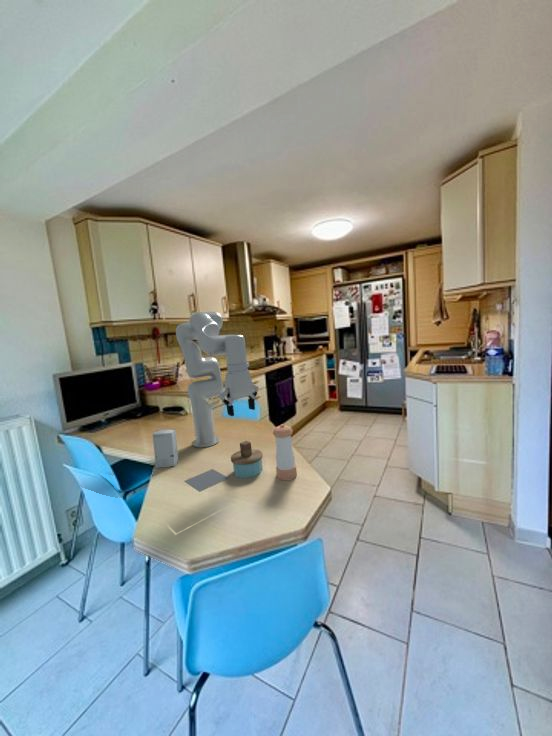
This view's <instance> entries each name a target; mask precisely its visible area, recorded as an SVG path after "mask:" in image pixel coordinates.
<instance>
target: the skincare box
mask: <svg viewBox="0 0 552 736" xmlns="http://www.w3.org/2000/svg"><path fill="white" fill-rule="evenodd" d="M152 442H153V443H152V444H153V451H154V452H153V453H154V461H155V469H159V468H158V467H163V468H169V467H168V466H174V467H176V465H177V464H178V463H179V452H178V441H177V431H176V429H175V428H174V429H173V428H172V429H170V428H169V429H167V428H166V429H159V430H156V431H155V432H153V433H152ZM177 462H178V463H177Z"/></svg>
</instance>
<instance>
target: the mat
mask: <svg viewBox="0 0 552 736" xmlns="http://www.w3.org/2000/svg"><path fill="white" fill-rule="evenodd" d="M229 479H230V477H228V476H227V475H225V474H223V473H221V472H218V471H217V470H215V469H214V468H212V469H210V470H207V471H204V472H202V473H200V474H197V475H196V476H193V477H190V478H188V479H185V480H184V482H185V483H186V484H188V486H190V487H192V488H193V489H195V490H196V491H198V492H199V493H200V492H203V491H205V490H206V489H208V488H212V487H213V486H216V485H217V484H220V483H222V482H224V481H226V480H229Z"/></svg>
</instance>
